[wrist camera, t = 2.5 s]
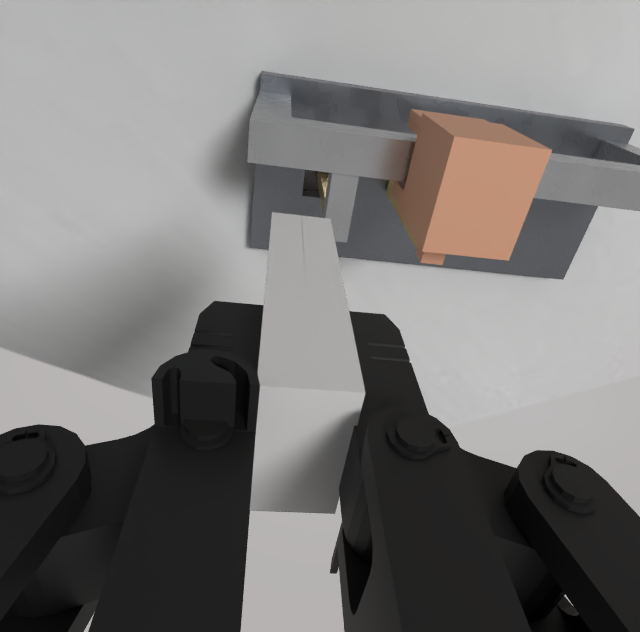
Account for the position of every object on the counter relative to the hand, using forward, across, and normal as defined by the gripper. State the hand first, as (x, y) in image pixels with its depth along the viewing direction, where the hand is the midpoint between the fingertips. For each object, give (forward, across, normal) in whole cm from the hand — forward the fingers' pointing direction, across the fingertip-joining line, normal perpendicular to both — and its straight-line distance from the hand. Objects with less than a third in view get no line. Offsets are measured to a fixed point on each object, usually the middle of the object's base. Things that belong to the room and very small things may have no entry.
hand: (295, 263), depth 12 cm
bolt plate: (+23, +11, -4) cm, 26 cm away
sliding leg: (+22, +8, -1) cm, 23 cm away
